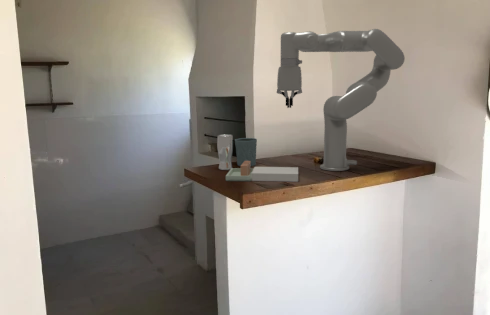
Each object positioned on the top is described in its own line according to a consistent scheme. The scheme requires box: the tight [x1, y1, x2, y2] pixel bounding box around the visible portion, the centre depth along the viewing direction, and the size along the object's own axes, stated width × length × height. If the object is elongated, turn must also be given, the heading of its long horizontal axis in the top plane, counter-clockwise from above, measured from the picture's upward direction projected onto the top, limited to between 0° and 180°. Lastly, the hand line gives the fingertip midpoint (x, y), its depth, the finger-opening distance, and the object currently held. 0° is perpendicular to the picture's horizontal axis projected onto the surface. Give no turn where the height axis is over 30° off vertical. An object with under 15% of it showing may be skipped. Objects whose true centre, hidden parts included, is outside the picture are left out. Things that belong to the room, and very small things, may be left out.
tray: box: [225, 167, 254, 182], centre depth 170 cm, size 10×15×2 cm, turn 173°
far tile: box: [243, 161, 252, 175], centre depth 173 cm, size 5×5×2 cm
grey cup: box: [234, 137, 258, 167], centre depth 195 cm, size 10×10×12 cm
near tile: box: [240, 163, 249, 176], centre depth 167 cm, size 5×5×2 cm
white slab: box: [251, 166, 299, 183], centre depth 168 cm, size 18×13×3 cm
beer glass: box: [216, 134, 234, 171], centre depth 186 cm, size 7×7×15 cm
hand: (289, 107), depth 178 cm, fingers closed
